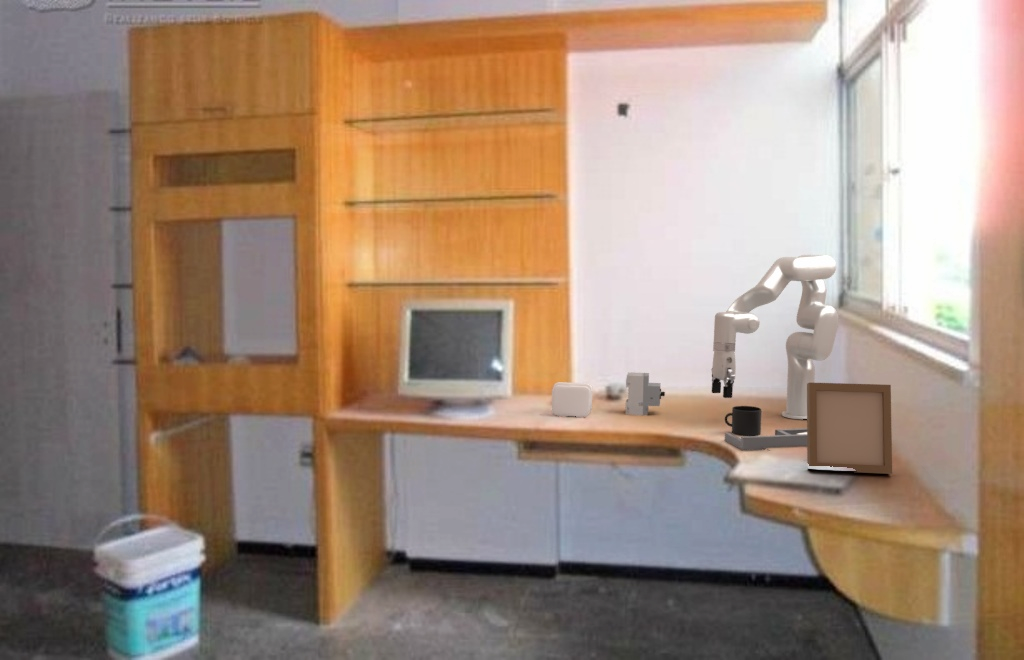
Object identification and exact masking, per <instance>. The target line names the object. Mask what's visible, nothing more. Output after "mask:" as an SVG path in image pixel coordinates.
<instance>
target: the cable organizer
mask: <svg viewBox="0 0 1024 660" xmlns="http://www.w3.org/2000/svg"><path fill="white" fill-rule="evenodd" d="M592 409H593V386H592V385H591V384H590V383H588V382H565V381H562V382H561V381H558V382H555V383H554V384H553V386H552V389H551V413H552V414H553V415H555V416H558V417H559V416H567V417H575V416H576V417H575V418H581V417H584V418H585V417H587V416H589V415H590V413H591V410H592Z"/></svg>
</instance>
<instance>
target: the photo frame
mask: <svg viewBox="0 0 1024 660" xmlns="http://www.w3.org/2000/svg"><path fill="white" fill-rule="evenodd" d="M891 386H892V385H891V384H876V383H875V384H874V383H871V384H870V383H843V382H842V383H841V382H840V383H838V382H837V383H836V382H834V383H833V382H814V383H808V384H807V420H806V428H807V446H806V450H807V451H806V456H807V457H806V458H807V459H806V460H807V461H806V464H807V463H808V464H809V466H830V467H832V466H833V467H847V468H853V469H855V470H856V471H857V472H856V473H863V474H865V473H866V474H882V475H883V474H885V475H887V474H888V475H890V474H891V475H893V447H892V446H893V444H892V440H893V439H892V437H893V436H892V435H893V434H892V394H891V393H892V387H891Z"/></svg>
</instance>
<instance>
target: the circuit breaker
mask: <svg viewBox="0 0 1024 660" xmlns="http://www.w3.org/2000/svg"><path fill="white" fill-rule="evenodd" d="M625 379H626V380H625V387H626V388H627V389H628V391H627V399H626V401H625V414H630V415H629V416H643V415H647V414H648V415H649V407H660V406H661V400H662V397H665V393H666V391H662V388H661V383H660V382H650V373H649V372H627V374H626V377H625ZM631 414H633V415H631ZM648 415H647V416H648Z"/></svg>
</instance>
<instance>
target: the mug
mask: <svg viewBox="0 0 1024 660" xmlns="http://www.w3.org/2000/svg"><path fill="white" fill-rule="evenodd" d="M731 409H732V412H728V413H727V414H726V415H725V416H724V422H725V424H726V425H727V426H729V427H730V428H731V434H733V435H735V436H740V437H748V436H761V435H762V434H761V432H762V409H761V407H757V406H752V405H736V406H732V408H731ZM729 417H731V423H730V422H729V421H728V418H729Z"/></svg>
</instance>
